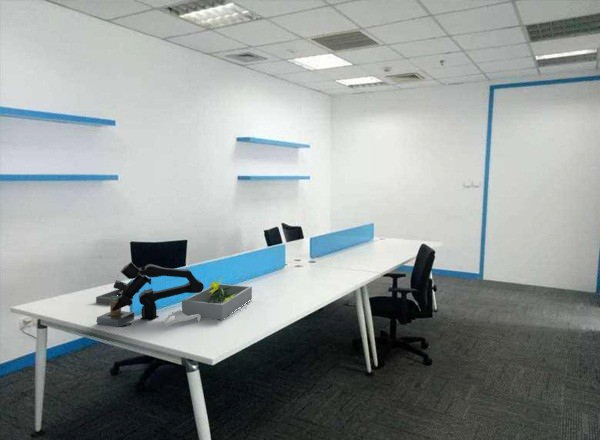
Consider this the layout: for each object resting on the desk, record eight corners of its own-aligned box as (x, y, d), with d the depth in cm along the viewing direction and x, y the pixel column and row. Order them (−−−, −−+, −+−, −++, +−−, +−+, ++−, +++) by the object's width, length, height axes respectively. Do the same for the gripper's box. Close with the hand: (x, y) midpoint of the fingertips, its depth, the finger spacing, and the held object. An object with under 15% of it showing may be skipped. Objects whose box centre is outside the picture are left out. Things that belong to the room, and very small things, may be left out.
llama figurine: (170, 339, 205) (202, 319, 214) (161, 320, 201) (194, 300, 210) (169, 338, 206) (201, 318, 216) (159, 319, 203) (192, 299, 212)
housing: (134, 319, 214) (134, 312, 214) (118, 327, 203) (117, 319, 203) (114, 316, 218) (114, 310, 217) (97, 324, 206) (96, 317, 206)
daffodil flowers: (235, 300, 254) (242, 301, 220) (213, 312, 250) (216, 315, 216) (223, 275, 255) (227, 272, 221) (200, 286, 250) (201, 285, 217)
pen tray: (134, 296, 255) (134, 291, 255) (114, 305, 238) (113, 298, 237) (117, 294, 258) (117, 289, 258) (96, 303, 241) (96, 296, 241)
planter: (251, 300, 252) (251, 286, 252) (222, 320, 215) (222, 305, 214) (216, 296, 258) (216, 283, 258) (181, 315, 221) (181, 300, 220)
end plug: (123, 320, 212) (123, 296, 211) (116, 323, 207) (116, 298, 206) (115, 319, 213) (114, 295, 212) (108, 322, 209) (107, 297, 207)
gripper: (123, 270, 218) (99, 294, 215) (124, 278, 201) (99, 304, 198) (139, 284, 222) (117, 307, 219) (142, 293, 205) (117, 318, 202)
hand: (112, 309), depth 209 cm, fingers closed on end plug, 5 cm apart
